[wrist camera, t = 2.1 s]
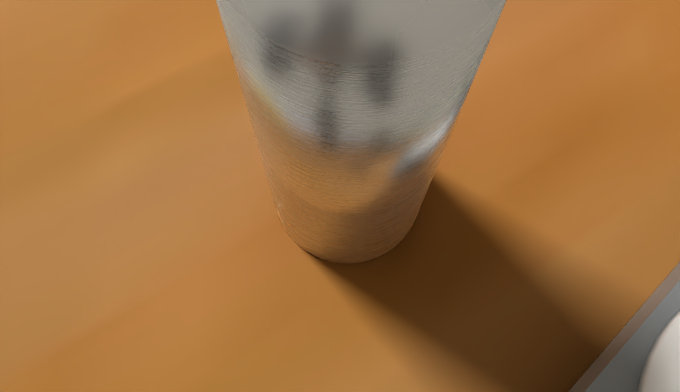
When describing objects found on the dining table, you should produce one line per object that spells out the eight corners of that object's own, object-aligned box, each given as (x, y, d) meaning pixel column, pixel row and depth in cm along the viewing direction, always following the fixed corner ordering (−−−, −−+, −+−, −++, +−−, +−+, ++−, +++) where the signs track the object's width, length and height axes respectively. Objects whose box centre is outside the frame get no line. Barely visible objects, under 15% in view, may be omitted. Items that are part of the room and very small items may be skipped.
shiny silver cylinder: (430, 254, 22) (558, 43, 9) (281, 271, 21) (207, 78, 9) (408, 119, 23) (491, -216, 11) (269, 133, 23) (191, -192, 11)
